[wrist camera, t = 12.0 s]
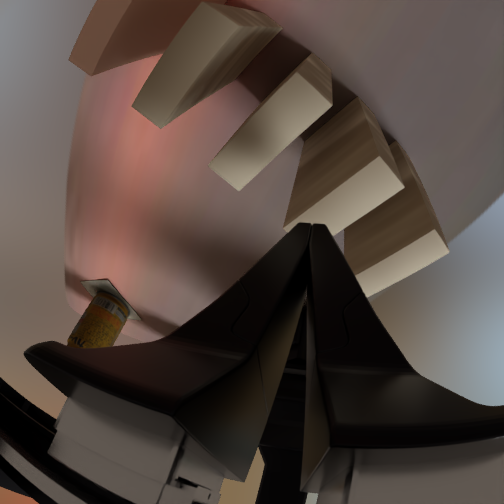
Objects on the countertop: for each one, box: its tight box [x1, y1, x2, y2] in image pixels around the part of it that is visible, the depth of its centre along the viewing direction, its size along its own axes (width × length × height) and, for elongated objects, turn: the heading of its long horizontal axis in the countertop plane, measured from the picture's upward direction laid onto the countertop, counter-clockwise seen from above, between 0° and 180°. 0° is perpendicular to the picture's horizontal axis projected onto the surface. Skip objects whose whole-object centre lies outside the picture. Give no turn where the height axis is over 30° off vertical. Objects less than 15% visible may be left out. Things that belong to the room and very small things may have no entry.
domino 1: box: [69, 0, 227, 76], centre depth 11 cm, size 2×5×10 cm, turn 141°
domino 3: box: [208, 53, 333, 191], centre depth 14 cm, size 2×5×10 cm, turn 141°
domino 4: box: [283, 96, 405, 236], centre depth 15 cm, size 2×5×10 cm, turn 140°
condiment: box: [67, 280, 141, 349], centre depth 37 cm, size 7×8×12 cm
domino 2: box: [132, 1, 283, 129], centre depth 12 cm, size 2×5×10 cm, turn 140°
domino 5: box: [344, 141, 450, 297], centre depth 16 cm, size 2×5×10 cm, turn 141°
